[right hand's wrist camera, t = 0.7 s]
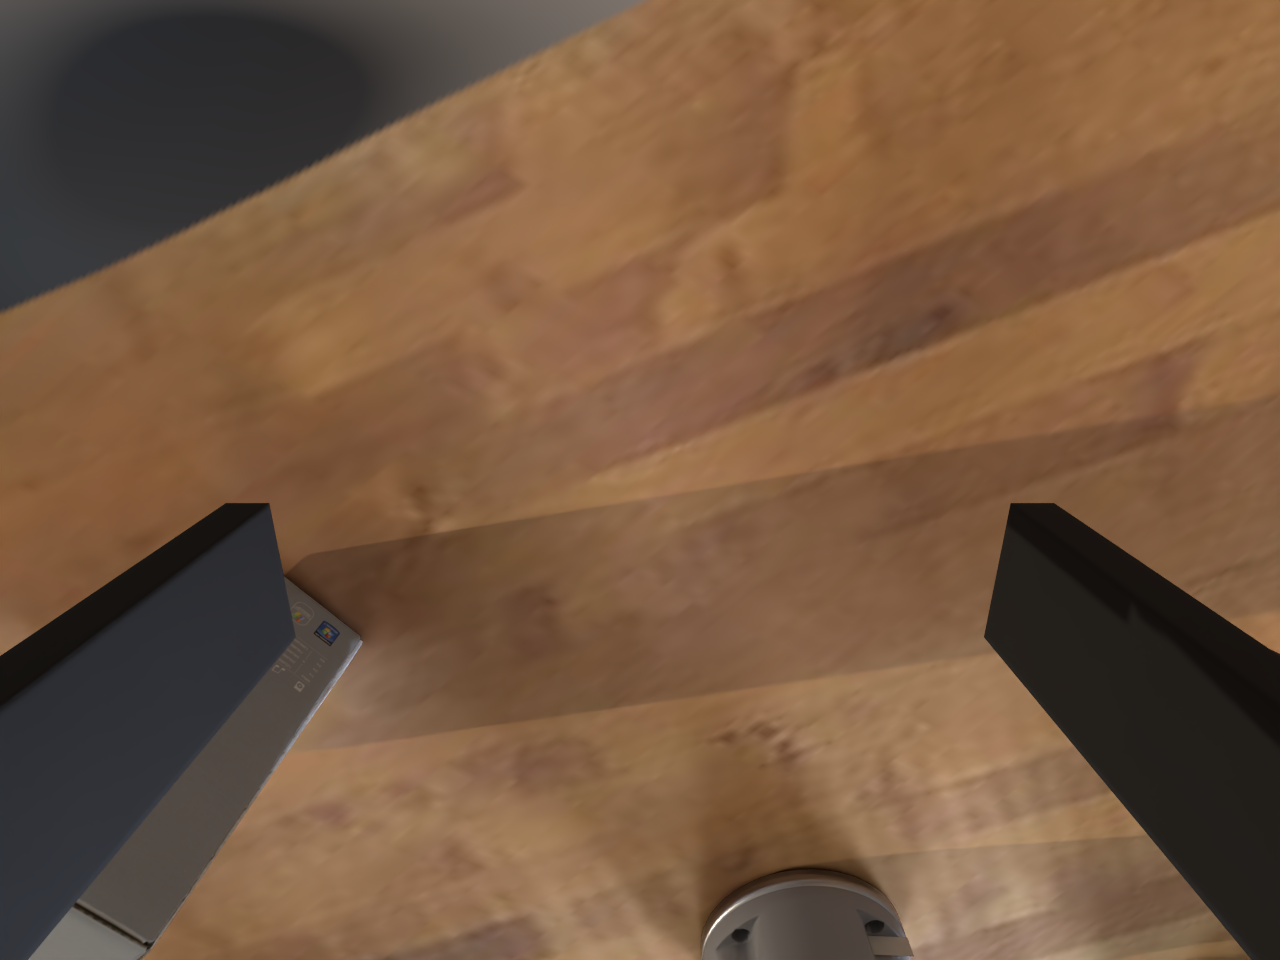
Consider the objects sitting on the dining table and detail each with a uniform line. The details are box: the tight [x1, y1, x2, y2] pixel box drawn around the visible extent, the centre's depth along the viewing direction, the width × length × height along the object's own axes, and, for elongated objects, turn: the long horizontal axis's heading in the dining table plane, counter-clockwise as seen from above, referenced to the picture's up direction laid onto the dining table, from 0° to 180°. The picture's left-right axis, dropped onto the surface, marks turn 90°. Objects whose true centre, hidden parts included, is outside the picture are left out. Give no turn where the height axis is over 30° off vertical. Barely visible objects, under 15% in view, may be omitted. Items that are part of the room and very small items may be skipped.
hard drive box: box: [28, 577, 362, 960], centre depth 35 cm, size 16×8×20 cm, turn 134°
